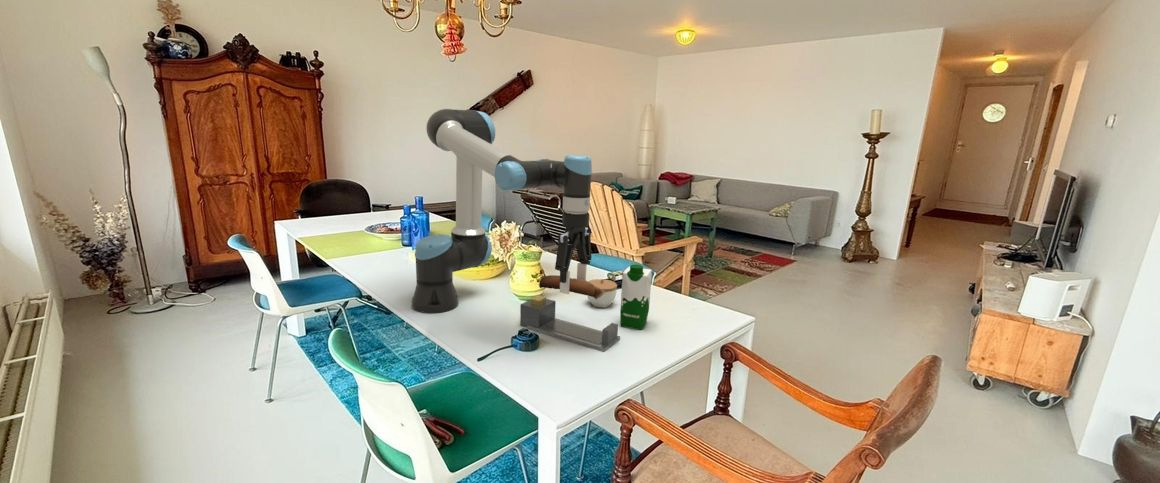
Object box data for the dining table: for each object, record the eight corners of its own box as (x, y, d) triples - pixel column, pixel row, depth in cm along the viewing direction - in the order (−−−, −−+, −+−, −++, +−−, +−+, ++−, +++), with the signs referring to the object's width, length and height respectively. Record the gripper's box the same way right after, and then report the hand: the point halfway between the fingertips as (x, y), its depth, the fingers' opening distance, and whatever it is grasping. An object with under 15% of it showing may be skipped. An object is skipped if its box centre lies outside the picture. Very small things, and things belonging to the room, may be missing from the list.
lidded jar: (614, 299, 176) (615, 275, 174) (617, 310, 165) (619, 284, 163) (585, 298, 175) (586, 274, 173) (586, 309, 165) (587, 283, 163)
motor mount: (516, 325, 150) (517, 299, 148) (535, 315, 158) (536, 290, 156) (604, 351, 134) (605, 323, 132) (620, 339, 143) (621, 312, 141)
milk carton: (616, 327, 152) (620, 266, 147) (623, 317, 160) (627, 259, 155) (644, 331, 149) (649, 270, 144) (649, 321, 157) (654, 262, 153)
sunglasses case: (606, 290, 140) (603, 274, 135) (597, 308, 135) (593, 292, 131) (552, 280, 147) (547, 264, 143) (542, 297, 143) (536, 281, 138)
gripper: (566, 218, 123) (563, 301, 129) (606, 208, 141) (602, 282, 146) (542, 214, 127) (540, 295, 132) (584, 205, 144) (581, 277, 150)
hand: (572, 288), depth 139 cm, fingers closed on sunglasses case, 8 cm apart
